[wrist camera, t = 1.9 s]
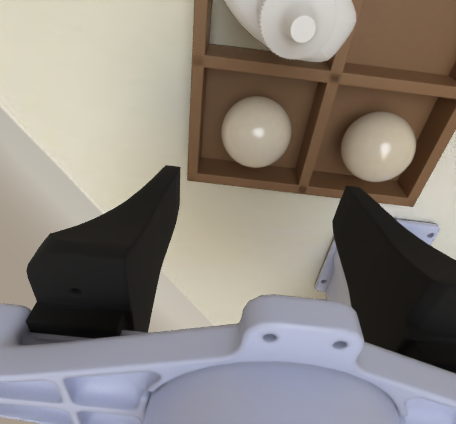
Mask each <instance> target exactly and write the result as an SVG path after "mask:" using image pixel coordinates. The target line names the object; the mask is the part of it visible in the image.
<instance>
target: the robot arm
mask: <svg viewBox="0 0 456 424" xmlns="http://www.w3.org/2000/svg"><path fill="white" fill-rule="evenodd" d="M179 205H180V167H176V166H167V165H166V166H165V167H163V168H162V169H161V171H160V172H159V173H158V174H157V175H156V176H155V177H154V178H153V179H152V180H150V181H149V182H148V183H147V184H146V185H145V186H144V187H143V188H142V189H141V190H139V191H138V192H137V193H136V194H134V195H133V196H132V197H131V198H129V199H128V200H127V201H125V202H124V203H122V204H121V205H119V206H117V207H116V208H114V209H112V210H110V211H108V212H107V213H105V214H103V215H101V216H99V217H97V218H95V219H92V220H90V221H88V222H85V223H82V224H80V225H78V226H74V227H71V228H68V229H65V230H61V231H58V232H55V233H51V234H49V236H48V237H47V238H46V239H45V240H44V242H43V243H42V244H41V246H40V247H39V249H38V250H37V252H36V253H35V255H34V256H33V258H32V259H31V261H30V262H29V264H28V267H27V275H28V279H29V282H30V284H31V287H32V289H33V292H34V295H35V297H36V300H37V303H36V304H35V306H34V308H33V310H32V311H31V310H30V309H29V308H27V307H25V306H21V305H13V304H2V303H0V417H4V418H10V419H16V420H22V421H29V422H33V423H39V424H456V260H454V259H452V258H450V257H449V256H447V255H445V254H443V253H442V252H440V251H438V250H437V249H435V248H433V247H432V246H430V245H431V243H432V242H433V240H434V239H435V237H436V235H437V234H438V232H439V231H440V228H439V226H438V225H437V224H434V223H425V222H417V221H408V220H400V219H394V218H393V217H392V216H391V215H390V214H389V213H388V212H386V211H385V210H384V209H383V208H382V207H381V206H380V205H379V204H378V203H377V202H376V201H375V200H374V199H373V198H372V197H371V196H369V195H368V194H367V193H366V192H365V191H364V190H363V189H361V188H360V187H354V186H346V187H345V189H344V192H343V195H342V197H341V200H340V203H339V205H338V208H337V211H336V213H335V216H334V219H333V221H332V223H333V232H334V240H333V242H332V245H331V247H330V250H329V252H328V255H327V257H326V259H325V262H324V264H323V267H322V269H321V272H320V274H319V277H318V279H317V282H316V284H315V288H316V290H317V291H321V292H326V296H327V300H323V299H313V298H303V297H294V296H284V295H275V294H274V295H261V296H259V297H257V298H254V299H252V300H250V301H249V302H248V303H247V305H246V306H245V308H244V309H243V313H242V318H241V320H240V322H239V323H238V324H229V325H219V326H210V327H200V328H191V329H181V330H172V331H163V332H154V333H148V328H149V323H150V318H151V313H152V308H153V303H154V298H155V293H156V289H157V284H158V279H159V274H160V270H161V267H162V263H163V260H164V257H165V254H166V252H167V249H168V246H169V243H170V240H171V237H172V234H173V231H174V228H175V225H176V221H177V216H178V210H179ZM430 233H431V234H430ZM428 234H429V235H428Z"/></svg>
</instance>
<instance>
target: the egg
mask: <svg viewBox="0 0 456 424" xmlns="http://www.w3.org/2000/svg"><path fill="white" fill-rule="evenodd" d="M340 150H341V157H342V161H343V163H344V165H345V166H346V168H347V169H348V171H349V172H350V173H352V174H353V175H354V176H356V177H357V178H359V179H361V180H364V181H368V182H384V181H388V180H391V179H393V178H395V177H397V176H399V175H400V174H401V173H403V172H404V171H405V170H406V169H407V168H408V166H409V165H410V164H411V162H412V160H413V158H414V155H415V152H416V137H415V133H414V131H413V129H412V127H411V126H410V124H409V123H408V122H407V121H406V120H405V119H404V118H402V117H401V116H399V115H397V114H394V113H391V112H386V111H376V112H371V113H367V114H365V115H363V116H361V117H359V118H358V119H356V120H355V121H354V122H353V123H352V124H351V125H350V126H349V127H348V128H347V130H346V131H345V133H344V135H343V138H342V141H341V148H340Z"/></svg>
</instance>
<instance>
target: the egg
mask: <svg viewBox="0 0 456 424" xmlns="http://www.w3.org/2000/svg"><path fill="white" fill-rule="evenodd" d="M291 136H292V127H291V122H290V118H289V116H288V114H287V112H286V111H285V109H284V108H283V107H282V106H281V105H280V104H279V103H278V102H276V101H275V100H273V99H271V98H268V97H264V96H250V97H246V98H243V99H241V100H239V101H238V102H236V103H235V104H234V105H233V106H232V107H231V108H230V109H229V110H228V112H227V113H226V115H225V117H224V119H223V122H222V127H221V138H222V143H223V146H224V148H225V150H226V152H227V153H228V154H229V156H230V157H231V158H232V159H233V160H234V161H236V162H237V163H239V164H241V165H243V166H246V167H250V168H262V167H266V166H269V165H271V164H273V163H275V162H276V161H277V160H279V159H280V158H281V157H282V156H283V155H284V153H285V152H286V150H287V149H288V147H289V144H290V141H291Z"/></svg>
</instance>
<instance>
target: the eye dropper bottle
mask: <svg viewBox="0 0 456 424" xmlns="http://www.w3.org/2000/svg"><path fill="white" fill-rule="evenodd" d="M224 1H225V3H226V4H227V6H228V8H229V9H230V11H231V12H232V13H233V15H234V16H235V17H236V19H237V20H238V21H239V22H240V24H241V25H242V26H243V27H244V28H245V29H246V30H247V31H248V32H249V33H250V34H251V35H252V36H253V37H255V38H256V39H257V40H258V41H260V42H261V43H262V44H264V45H265V46H267V48H270V51H273V53H276V55H279V57H283V58H286V59H290V60H291V59H293V60H295V59H297V60H303V61H309V62H323V61H327V60H329V59H330V58H331V57H333V56H334V55H335V54H336V52H337V51H338V50H339V49H340V47H341V46H342V45H343V43H344V42H345V41H346V39H347V38H348V37H349V35H350V33H351V32H352V30H353V29H354V26H355V23H356V11H355V8H354V5H353V3H352V1H351V0H224Z"/></svg>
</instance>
